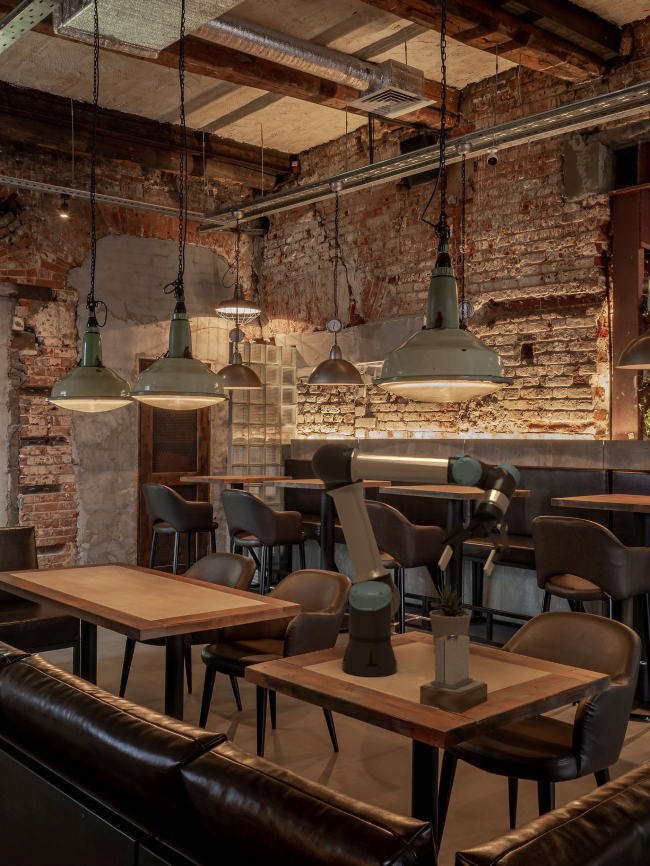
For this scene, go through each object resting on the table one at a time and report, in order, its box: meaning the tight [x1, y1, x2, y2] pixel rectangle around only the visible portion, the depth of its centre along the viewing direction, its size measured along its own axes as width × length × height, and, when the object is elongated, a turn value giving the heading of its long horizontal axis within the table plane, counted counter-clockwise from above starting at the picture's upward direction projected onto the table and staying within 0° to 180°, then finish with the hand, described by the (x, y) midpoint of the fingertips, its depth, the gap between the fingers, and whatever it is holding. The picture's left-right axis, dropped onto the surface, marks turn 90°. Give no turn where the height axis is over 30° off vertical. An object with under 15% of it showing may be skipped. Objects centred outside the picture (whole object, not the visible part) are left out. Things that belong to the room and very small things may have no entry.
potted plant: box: [429, 585, 472, 647], centre depth 244 cm, size 13×14×20 cm
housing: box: [430, 633, 474, 690], centre depth 193 cm, size 6×9×12 cm
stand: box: [419, 679, 488, 714], centre depth 193 cm, size 11×13×4 cm
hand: (463, 570), depth 210 cm, fingers open, 13 cm apart
